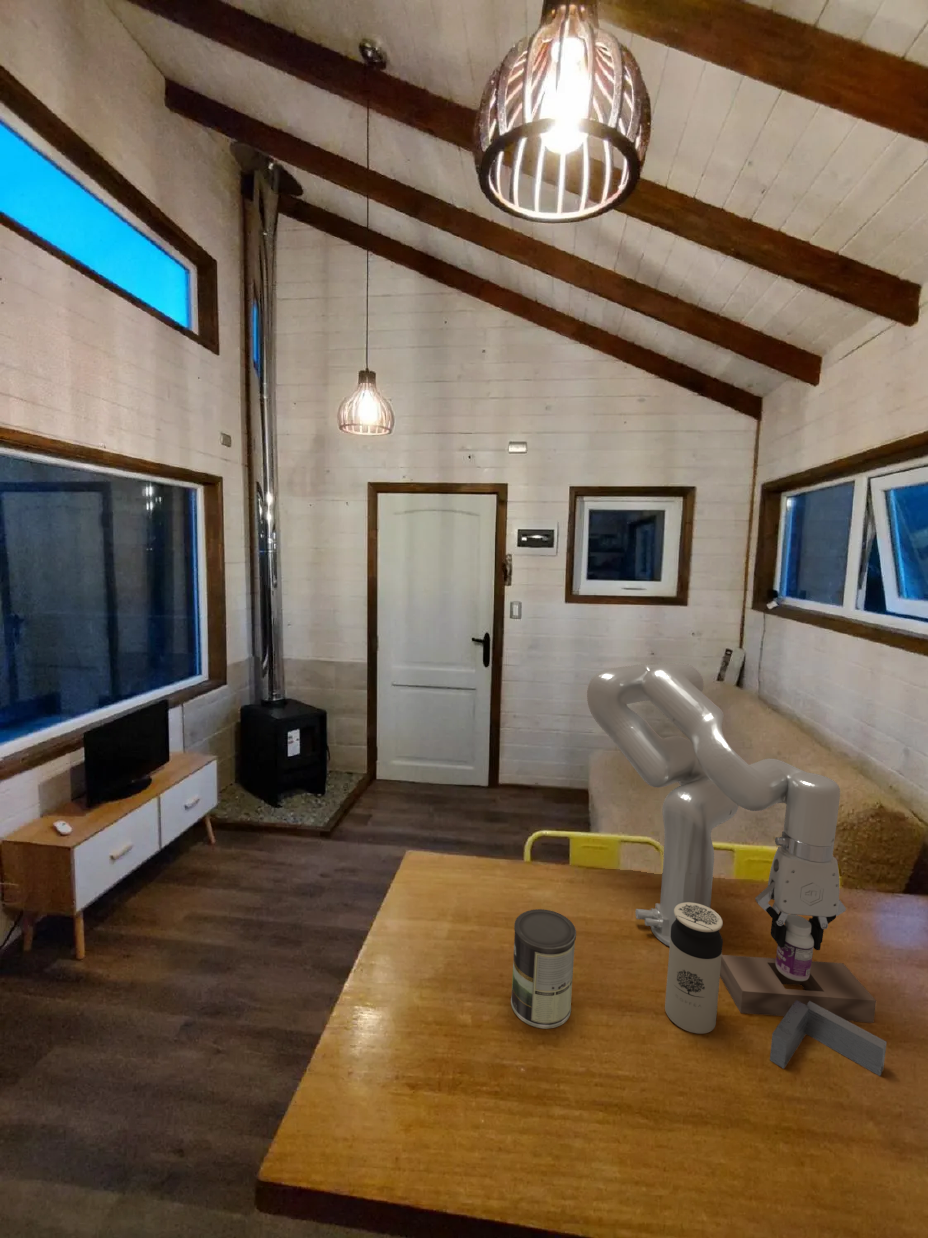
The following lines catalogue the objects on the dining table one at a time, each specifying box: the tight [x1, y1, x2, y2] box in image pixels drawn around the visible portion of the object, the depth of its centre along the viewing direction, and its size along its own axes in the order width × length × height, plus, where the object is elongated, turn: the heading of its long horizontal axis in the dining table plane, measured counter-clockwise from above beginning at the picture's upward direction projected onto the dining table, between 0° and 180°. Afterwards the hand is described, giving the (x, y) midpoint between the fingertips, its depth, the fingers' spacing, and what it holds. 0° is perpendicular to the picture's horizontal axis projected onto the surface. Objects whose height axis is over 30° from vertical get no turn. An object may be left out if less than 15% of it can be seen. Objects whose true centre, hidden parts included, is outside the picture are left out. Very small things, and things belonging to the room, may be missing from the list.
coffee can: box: [510, 908, 577, 1030], centre depth 96 cm, size 10×10×14 cm
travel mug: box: [664, 902, 724, 1034], centre depth 95 cm, size 8×8×18 cm
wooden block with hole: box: [720, 954, 877, 1024], centre depth 100 cm, size 22×9×4 cm, turn 87°
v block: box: [769, 1000, 888, 1077], centre depth 90 cm, size 17×9×4 cm, turn 87°
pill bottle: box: [775, 914, 814, 981], centre depth 100 cm, size 5×5×10 cm
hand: (795, 942), depth 100 cm, fingers closed on pill bottle, 5 cm apart
